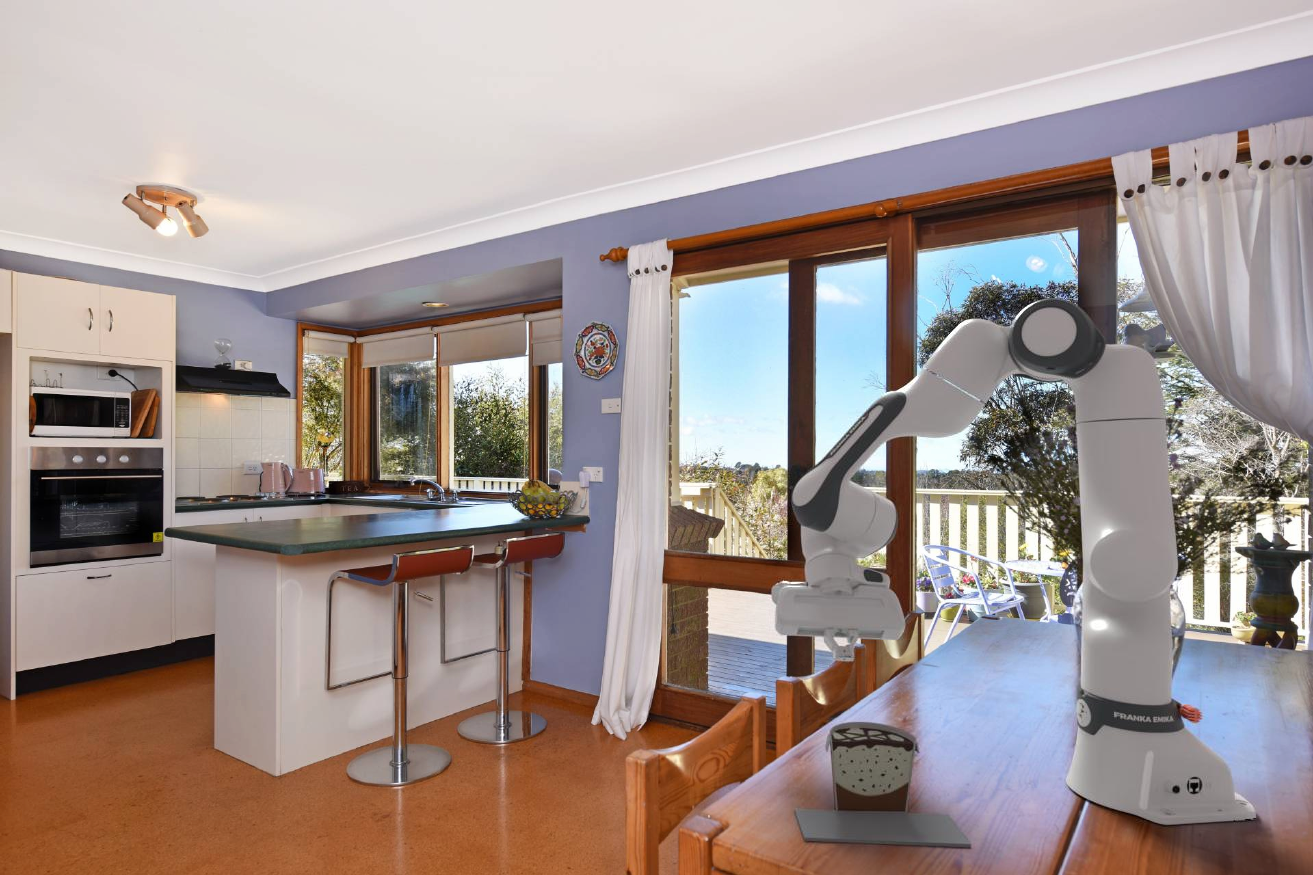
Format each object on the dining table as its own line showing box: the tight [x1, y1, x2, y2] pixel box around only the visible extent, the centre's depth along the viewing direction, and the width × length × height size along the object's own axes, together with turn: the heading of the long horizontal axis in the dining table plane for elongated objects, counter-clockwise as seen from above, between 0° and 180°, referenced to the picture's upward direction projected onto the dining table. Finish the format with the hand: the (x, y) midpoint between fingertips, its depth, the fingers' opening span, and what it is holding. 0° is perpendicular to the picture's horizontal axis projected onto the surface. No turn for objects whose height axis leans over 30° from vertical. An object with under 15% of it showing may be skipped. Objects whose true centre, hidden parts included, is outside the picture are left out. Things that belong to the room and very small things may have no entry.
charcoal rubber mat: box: [793, 808, 972, 848], centre depth 96 cm, size 20×8×1 cm, turn 89°
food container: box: [824, 721, 920, 813], centre depth 104 cm, size 12×6×10 cm, turn 92°
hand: (844, 659), depth 117 cm, fingers closed
